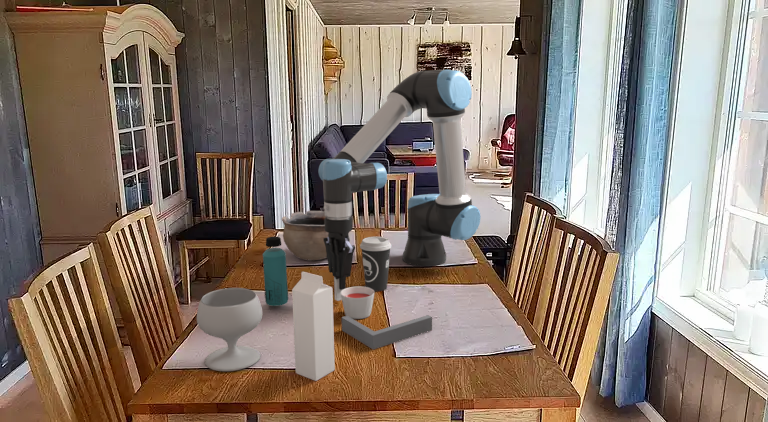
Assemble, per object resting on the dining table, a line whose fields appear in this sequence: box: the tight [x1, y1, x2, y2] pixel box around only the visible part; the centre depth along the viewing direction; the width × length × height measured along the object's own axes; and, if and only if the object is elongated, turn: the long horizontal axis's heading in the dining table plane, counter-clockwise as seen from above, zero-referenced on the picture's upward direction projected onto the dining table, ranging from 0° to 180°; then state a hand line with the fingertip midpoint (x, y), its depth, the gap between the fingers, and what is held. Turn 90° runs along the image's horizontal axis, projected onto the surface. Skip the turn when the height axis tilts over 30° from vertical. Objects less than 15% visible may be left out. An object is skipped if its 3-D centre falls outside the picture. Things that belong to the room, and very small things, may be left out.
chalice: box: [196, 287, 263, 372], centre depth 128 cm, size 14×14×15 cm
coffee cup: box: [359, 236, 392, 292], centre depth 174 cm, size 10×10×15 cm
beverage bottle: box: [262, 236, 289, 307], centre depth 159 cm, size 6×7×20 cm
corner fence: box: [341, 314, 433, 350], centre depth 144 cm, size 18×14×4 cm
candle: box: [341, 285, 376, 320], centre depth 154 cm, size 9×9×6 cm
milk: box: [291, 271, 336, 382], centre depth 122 cm, size 6×6×22 cm
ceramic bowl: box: [281, 210, 328, 261], centre depth 205 cm, size 22×22×15 cm
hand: (340, 299), depth 162 cm, fingers closed
